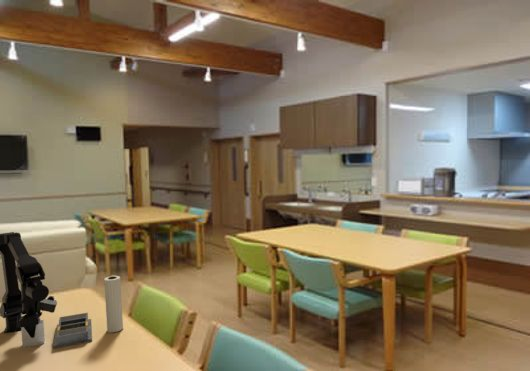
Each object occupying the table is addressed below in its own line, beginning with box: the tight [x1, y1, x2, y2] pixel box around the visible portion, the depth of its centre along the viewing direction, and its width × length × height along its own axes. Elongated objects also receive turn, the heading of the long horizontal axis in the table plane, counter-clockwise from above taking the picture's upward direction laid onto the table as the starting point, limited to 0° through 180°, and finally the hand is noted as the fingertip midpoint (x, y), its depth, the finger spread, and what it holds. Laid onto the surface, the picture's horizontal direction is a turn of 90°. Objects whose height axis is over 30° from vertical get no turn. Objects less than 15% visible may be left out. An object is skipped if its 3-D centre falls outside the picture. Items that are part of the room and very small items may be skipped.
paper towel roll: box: [103, 274, 124, 333], centre depth 163 cm, size 7×6×21 cm
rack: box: [52, 312, 93, 349], centre depth 160 cm, size 21×13×4 cm, turn 24°
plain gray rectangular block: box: [20, 319, 46, 348], centre depth 152 cm, size 3×7×8 cm, turn 114°
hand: (33, 335), depth 152 cm, fingers closed on plain gray rectangular block, 3 cm apart
